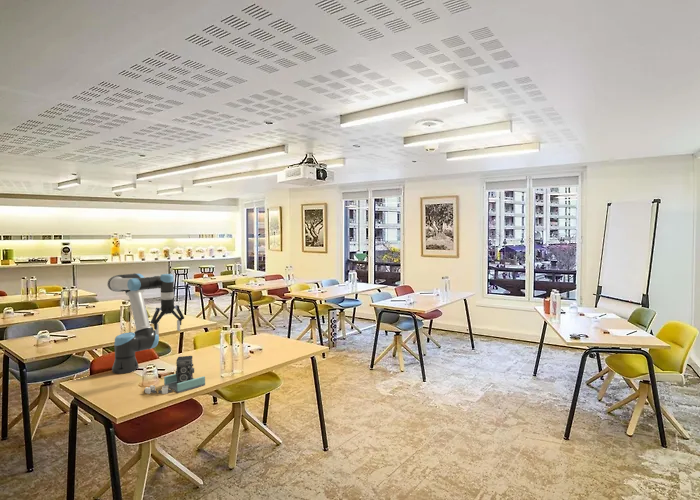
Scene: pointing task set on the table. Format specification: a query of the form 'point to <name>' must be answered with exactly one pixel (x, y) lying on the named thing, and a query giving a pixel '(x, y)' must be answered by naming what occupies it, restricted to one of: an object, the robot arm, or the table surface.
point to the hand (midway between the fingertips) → (168, 332)
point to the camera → (184, 369)
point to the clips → (148, 390)
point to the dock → (183, 383)
